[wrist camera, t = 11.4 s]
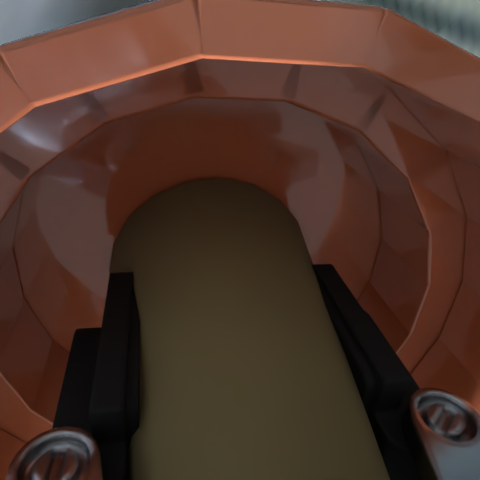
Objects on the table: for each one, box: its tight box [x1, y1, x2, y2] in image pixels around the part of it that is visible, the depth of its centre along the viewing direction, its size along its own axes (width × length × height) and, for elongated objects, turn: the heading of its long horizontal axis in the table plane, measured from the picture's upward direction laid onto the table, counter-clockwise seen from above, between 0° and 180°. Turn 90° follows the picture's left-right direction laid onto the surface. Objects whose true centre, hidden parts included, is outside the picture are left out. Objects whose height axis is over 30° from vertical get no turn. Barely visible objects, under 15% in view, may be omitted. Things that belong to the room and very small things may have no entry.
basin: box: [0, 0, 480, 480], centre depth 11 cm, size 14×14×6 cm
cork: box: [109, 178, 390, 480], centre depth 8 cm, size 6×6×11 cm
